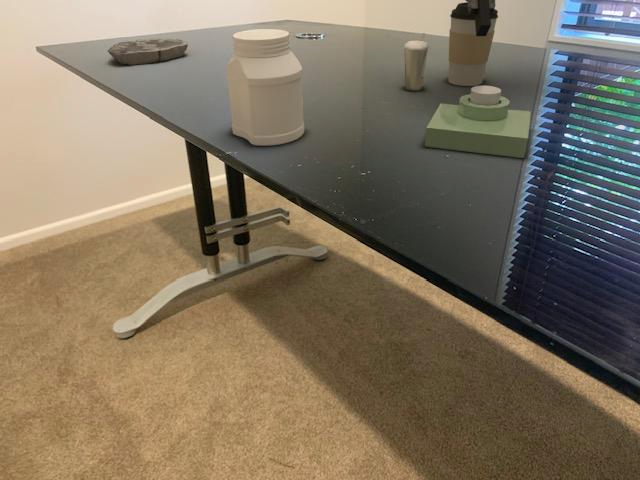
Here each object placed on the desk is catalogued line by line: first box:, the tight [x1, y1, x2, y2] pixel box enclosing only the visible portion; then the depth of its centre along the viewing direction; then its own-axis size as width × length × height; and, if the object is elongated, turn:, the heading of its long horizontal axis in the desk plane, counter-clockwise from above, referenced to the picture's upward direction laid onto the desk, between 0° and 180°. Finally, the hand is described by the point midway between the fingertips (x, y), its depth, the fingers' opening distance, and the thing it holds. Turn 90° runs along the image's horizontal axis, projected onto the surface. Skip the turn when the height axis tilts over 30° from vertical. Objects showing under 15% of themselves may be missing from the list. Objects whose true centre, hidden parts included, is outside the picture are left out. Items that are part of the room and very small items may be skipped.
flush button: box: [469, 85, 502, 106], centre depth 77 cm, size 4×4×2 cm
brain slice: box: [107, 38, 189, 66], centre depth 129 cm, size 20×17×3 cm
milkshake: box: [403, 32, 430, 92], centre depth 98 cm, size 4×5×10 cm
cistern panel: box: [424, 93, 532, 159], centre depth 76 cm, size 14×13×5 cm
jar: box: [225, 28, 305, 147], centre depth 77 cm, size 12×10×15 cm
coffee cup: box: [448, 1, 499, 87], centre depth 101 cm, size 9×9×15 cm
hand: (483, 30), depth 77 cm, fingers closed
